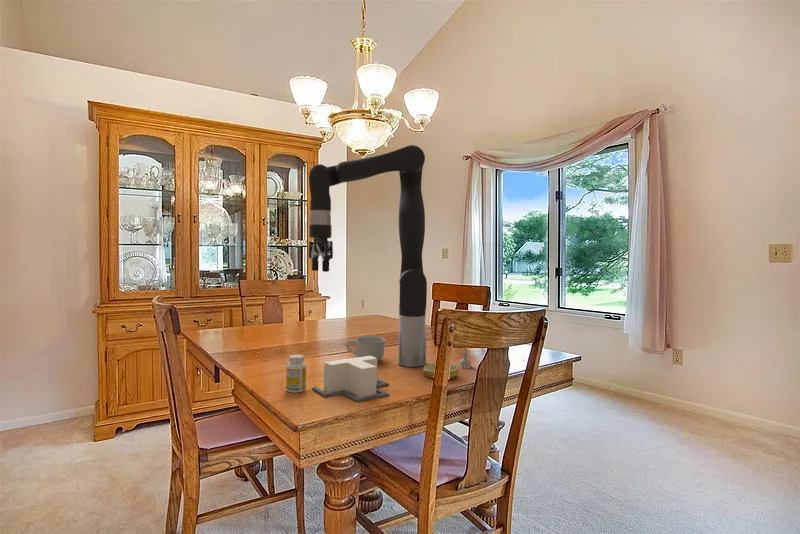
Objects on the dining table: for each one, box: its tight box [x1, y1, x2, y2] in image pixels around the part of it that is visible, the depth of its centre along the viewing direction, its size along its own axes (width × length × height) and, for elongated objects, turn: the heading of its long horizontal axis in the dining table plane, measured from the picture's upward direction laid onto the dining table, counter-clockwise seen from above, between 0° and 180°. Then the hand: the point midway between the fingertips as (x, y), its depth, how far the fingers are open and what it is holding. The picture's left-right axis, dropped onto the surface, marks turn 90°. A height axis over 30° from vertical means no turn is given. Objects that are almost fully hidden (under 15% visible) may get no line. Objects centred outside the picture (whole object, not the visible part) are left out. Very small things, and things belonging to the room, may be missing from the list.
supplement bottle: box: [285, 354, 307, 394], centre depth 125 cm, size 5×5×10 cm
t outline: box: [311, 377, 390, 403], centre depth 125 cm, size 16×20×1 cm
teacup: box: [345, 335, 386, 362], centre depth 161 cm, size 14×11×8 cm
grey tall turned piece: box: [457, 348, 473, 367], centre depth 154 cm, size 7×7×18 cm
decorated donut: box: [423, 362, 459, 380], centre depth 141 cm, size 10×11×4 cm
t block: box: [323, 356, 378, 398], centre depth 125 cm, size 12×15×8 cm
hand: (320, 271), depth 155 cm, fingers open, 8 cm apart
